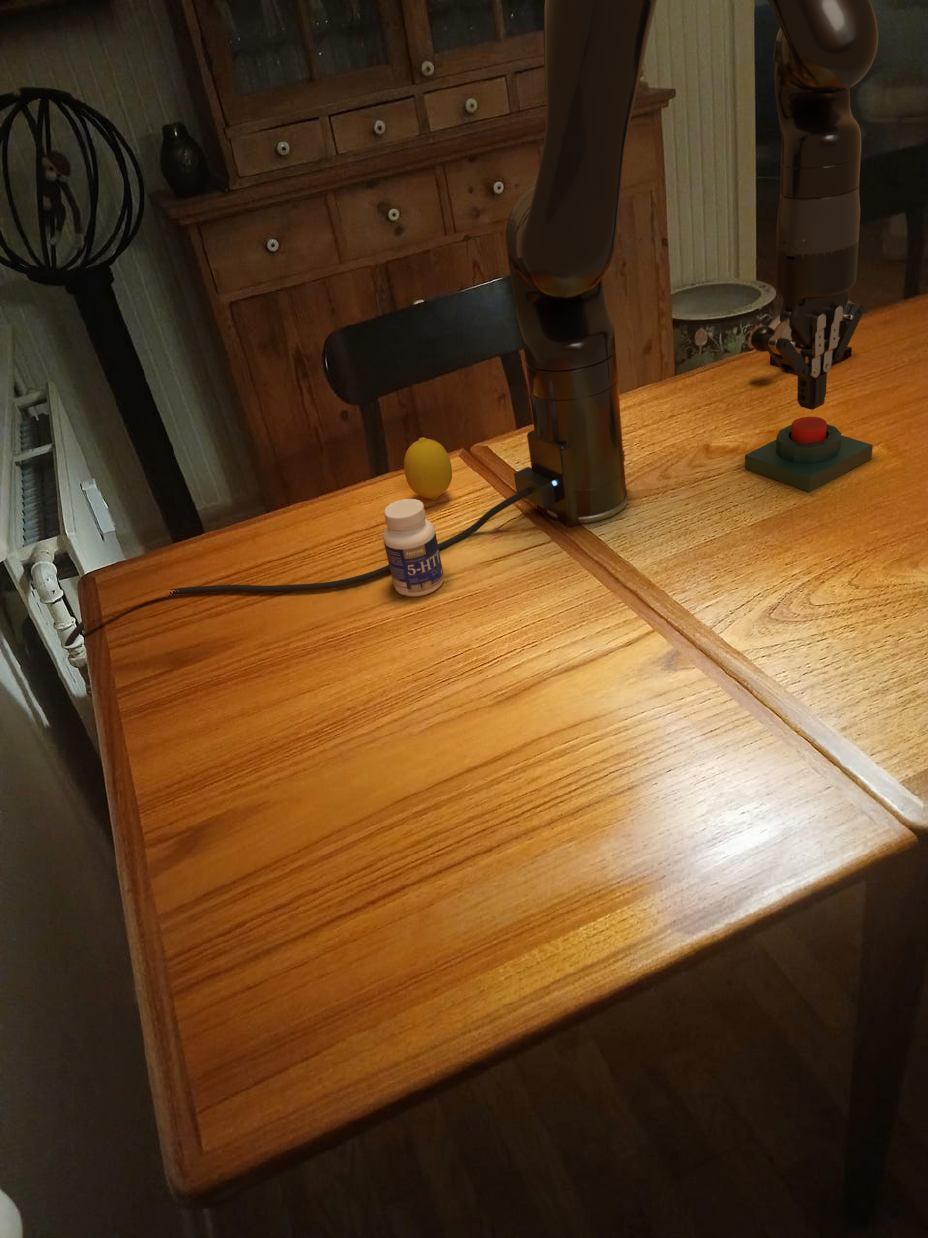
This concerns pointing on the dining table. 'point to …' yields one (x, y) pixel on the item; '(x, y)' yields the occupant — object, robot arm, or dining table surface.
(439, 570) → the pill bottle
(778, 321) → the tap lever
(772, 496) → the dining table surface
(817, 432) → the push button
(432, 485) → the lemon
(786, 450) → the button block
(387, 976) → the dining table surface
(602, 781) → the dining table surface
